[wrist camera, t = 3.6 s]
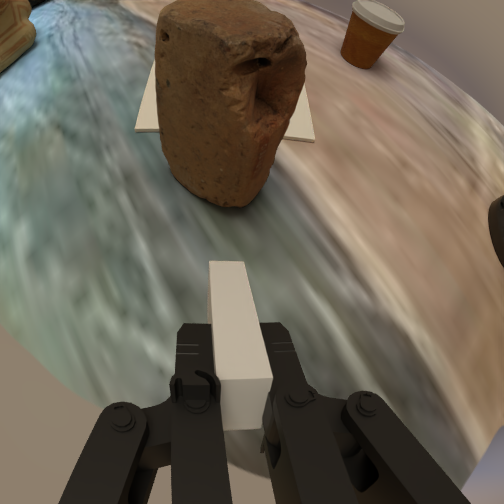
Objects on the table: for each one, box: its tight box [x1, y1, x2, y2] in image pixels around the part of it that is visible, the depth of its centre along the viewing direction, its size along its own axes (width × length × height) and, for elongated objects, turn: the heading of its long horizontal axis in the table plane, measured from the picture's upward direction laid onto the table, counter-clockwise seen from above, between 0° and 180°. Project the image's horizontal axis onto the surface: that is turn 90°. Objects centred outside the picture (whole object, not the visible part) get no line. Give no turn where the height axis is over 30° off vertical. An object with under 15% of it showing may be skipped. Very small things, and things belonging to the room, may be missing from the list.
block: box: [155, 0, 307, 208], centre depth 24 cm, size 11×8×20 cm
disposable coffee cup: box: [341, 0, 405, 69], centre depth 41 cm, size 10×10×12 cm
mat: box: [135, 60, 315, 143], centre depth 38 cm, size 22×16×1 cm
